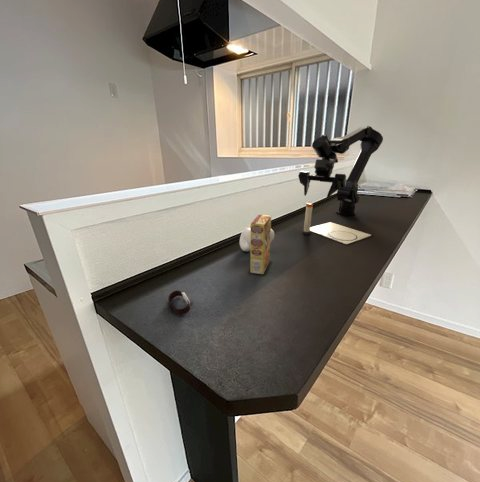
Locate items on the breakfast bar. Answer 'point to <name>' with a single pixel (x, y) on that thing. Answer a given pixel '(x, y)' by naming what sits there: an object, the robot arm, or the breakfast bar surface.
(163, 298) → the breakfast bar surface
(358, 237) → the sketch pad
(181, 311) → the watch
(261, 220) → the candy box
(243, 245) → the white rounded lump
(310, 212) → the marker
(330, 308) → the breakfast bar surface
